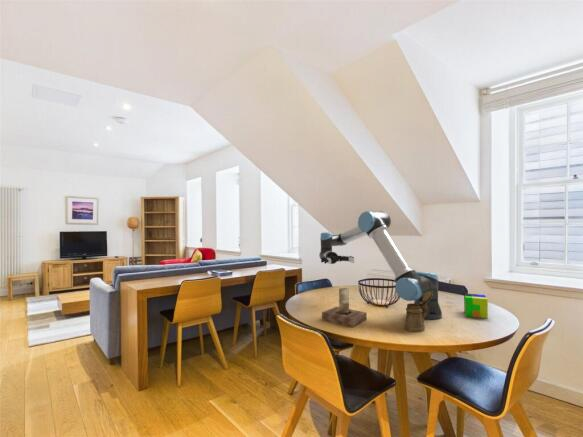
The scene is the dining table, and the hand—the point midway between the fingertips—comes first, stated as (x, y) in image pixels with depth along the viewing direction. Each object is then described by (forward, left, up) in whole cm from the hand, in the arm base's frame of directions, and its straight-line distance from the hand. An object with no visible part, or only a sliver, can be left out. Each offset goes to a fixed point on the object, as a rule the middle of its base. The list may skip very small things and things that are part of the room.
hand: (342, 260), depth 179 cm
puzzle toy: (-59, -39, -29) cm, 77 cm away
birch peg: (-9, +14, -28) cm, 33 cm away
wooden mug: (-43, +3, -29) cm, 52 cm away
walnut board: (-9, +14, -28) cm, 33 cm away
